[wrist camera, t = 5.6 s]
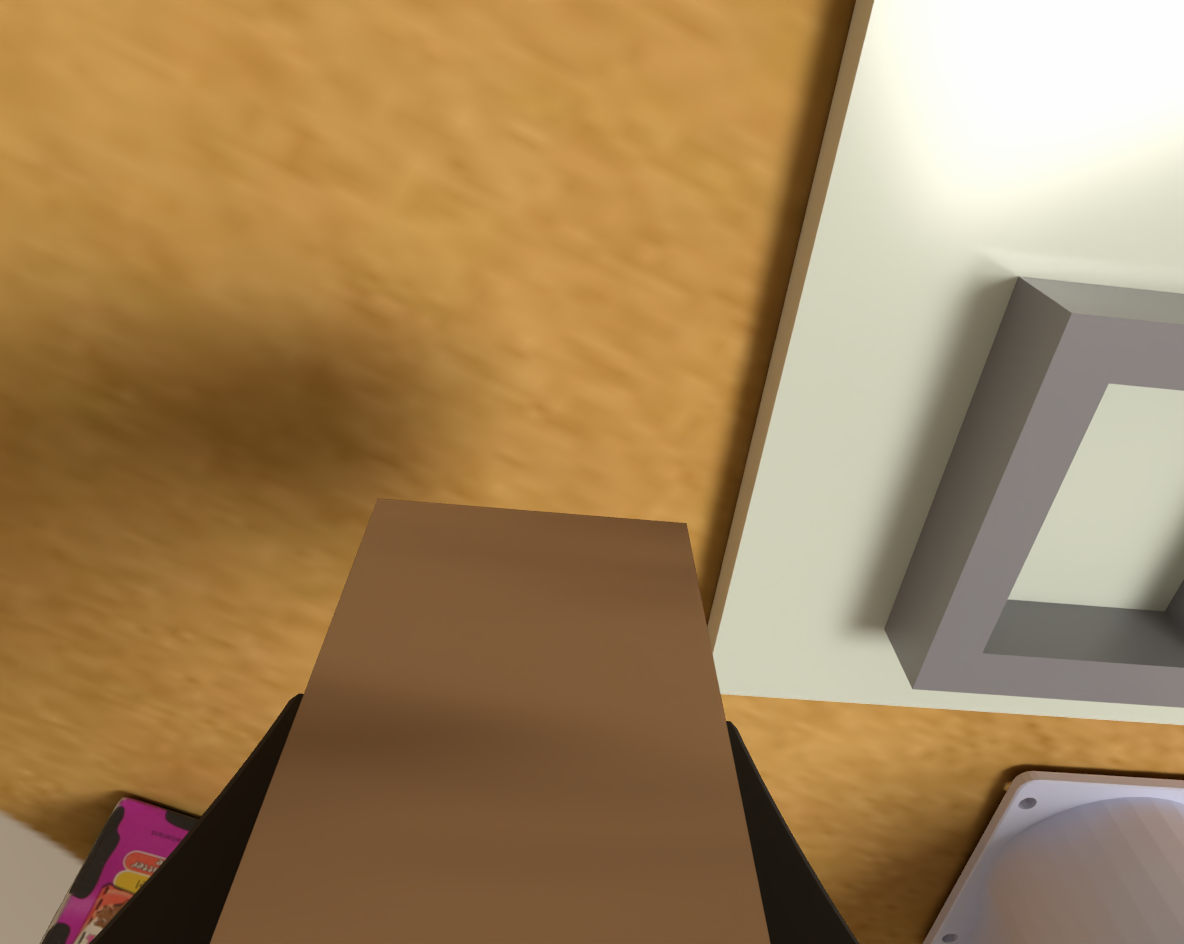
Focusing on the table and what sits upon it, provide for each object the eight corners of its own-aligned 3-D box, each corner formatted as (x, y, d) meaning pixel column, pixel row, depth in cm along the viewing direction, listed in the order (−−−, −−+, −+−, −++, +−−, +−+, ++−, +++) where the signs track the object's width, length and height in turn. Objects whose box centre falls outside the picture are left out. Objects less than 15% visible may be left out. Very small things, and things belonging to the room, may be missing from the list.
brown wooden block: (635, 777, 13) (683, 1423, 7) (384, 762, 13) (225, 1422, 7) (686, 523, 11) (820, 1193, 5) (377, 498, 11) (121, 1175, 5)
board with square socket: (1191, 699, 23) (1267, 789, 21) (698, 665, 22) (713, 755, 20) (1695, -58, 14) (1945, -65, 12) (896, -175, 13) (975, -209, 11)
